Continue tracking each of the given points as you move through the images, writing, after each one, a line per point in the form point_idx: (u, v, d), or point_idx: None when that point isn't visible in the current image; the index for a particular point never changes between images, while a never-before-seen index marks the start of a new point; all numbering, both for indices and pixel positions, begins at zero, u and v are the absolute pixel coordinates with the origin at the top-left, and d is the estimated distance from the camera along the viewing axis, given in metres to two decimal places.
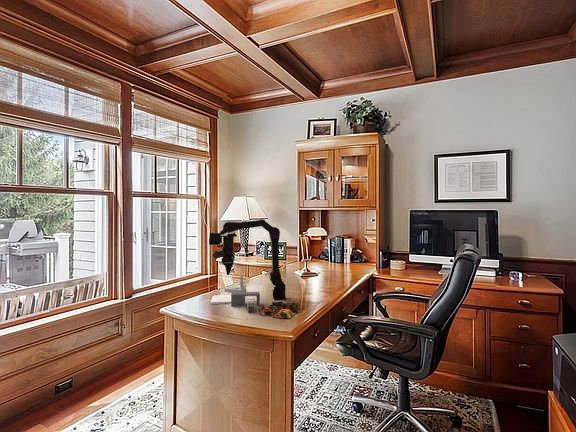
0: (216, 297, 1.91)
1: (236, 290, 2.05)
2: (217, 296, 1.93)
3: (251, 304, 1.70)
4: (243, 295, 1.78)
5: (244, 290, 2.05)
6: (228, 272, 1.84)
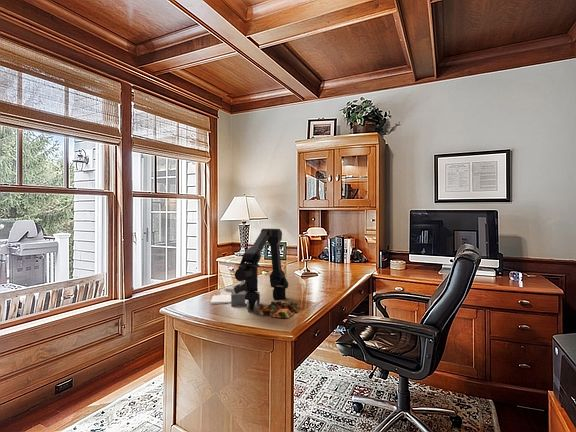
0: (216, 297, 1.91)
1: None
2: (217, 296, 1.93)
3: None
4: (243, 295, 1.78)
5: None
6: (252, 307, 1.65)
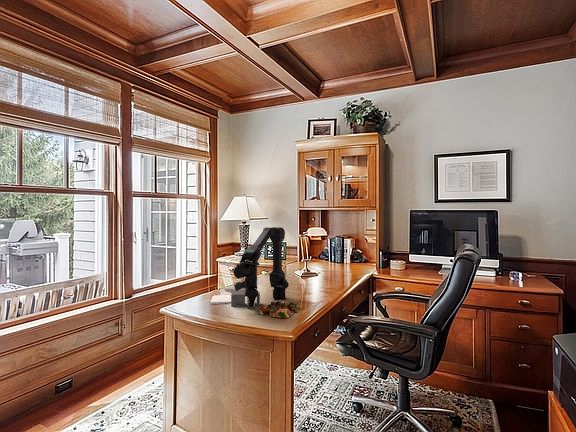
0: (216, 297, 1.91)
1: None
2: (217, 296, 1.93)
3: None
4: (243, 295, 1.78)
5: None
6: (251, 304, 1.71)
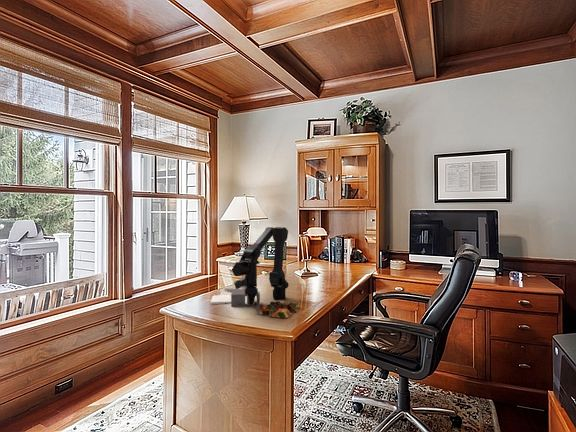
0: (216, 297, 1.91)
1: (238, 289, 2.07)
2: (217, 296, 1.93)
3: None
4: (243, 295, 1.78)
5: None
6: (251, 301, 1.75)
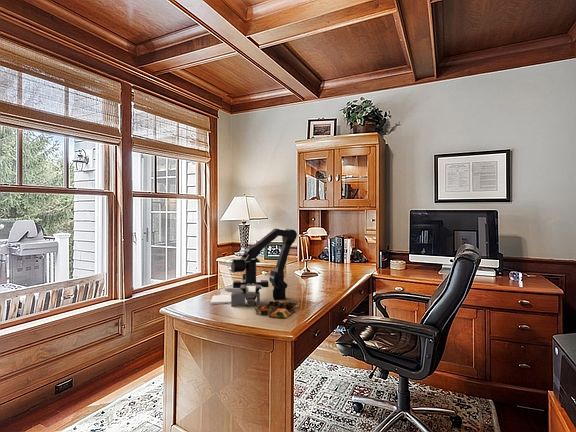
0: (216, 297, 1.91)
1: (239, 289, 2.07)
2: (217, 296, 1.93)
3: (251, 298, 1.81)
4: (243, 295, 1.78)
5: (247, 289, 2.08)
6: (245, 297, 1.85)
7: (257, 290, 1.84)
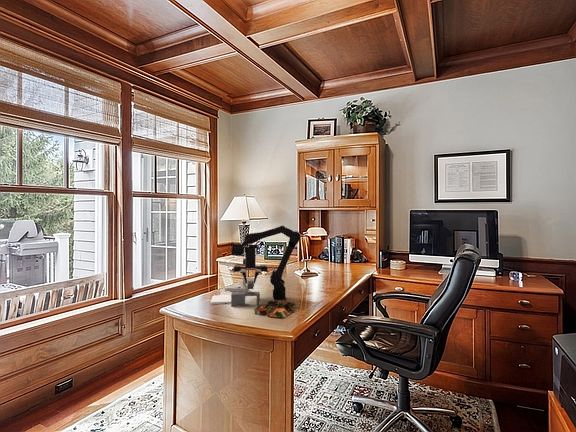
0: (216, 297, 1.91)
1: (239, 289, 2.08)
2: (217, 296, 1.93)
3: (250, 282, 1.89)
4: (243, 295, 1.78)
5: (247, 288, 2.09)
6: (245, 281, 1.94)
7: (256, 274, 1.93)
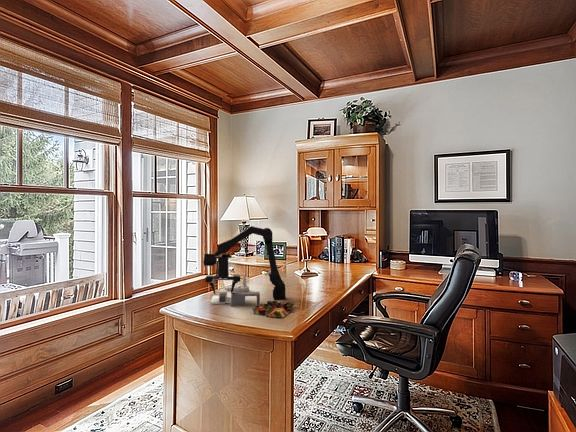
0: (216, 297, 1.91)
1: (240, 289, 2.09)
2: (217, 296, 1.93)
3: (222, 294, 1.85)
4: (243, 295, 1.78)
5: (248, 288, 2.10)
6: (213, 291, 1.90)
7: (233, 284, 1.89)
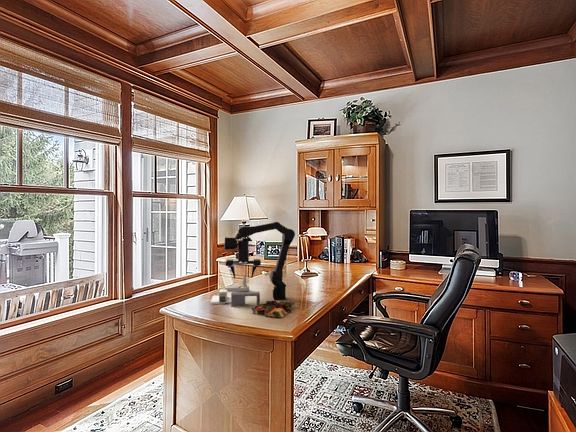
0: (216, 297, 1.91)
1: (240, 289, 2.09)
2: (217, 296, 1.93)
3: (222, 294, 1.85)
4: (243, 295, 1.78)
5: (248, 288, 2.10)
6: (233, 275, 1.88)
7: (254, 268, 1.87)
